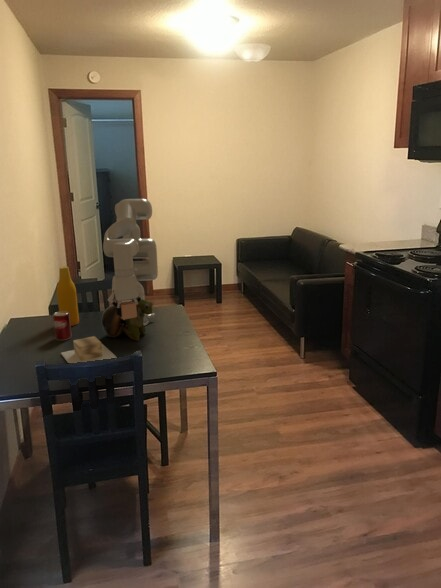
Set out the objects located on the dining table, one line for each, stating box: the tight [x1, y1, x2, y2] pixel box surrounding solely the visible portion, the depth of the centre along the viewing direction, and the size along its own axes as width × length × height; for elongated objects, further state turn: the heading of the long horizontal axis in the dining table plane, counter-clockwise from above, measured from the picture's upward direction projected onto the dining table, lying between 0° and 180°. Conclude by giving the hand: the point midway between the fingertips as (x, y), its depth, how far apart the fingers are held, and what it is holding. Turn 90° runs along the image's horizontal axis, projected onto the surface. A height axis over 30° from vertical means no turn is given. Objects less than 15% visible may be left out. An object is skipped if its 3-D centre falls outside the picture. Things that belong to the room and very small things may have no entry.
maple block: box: [72, 335, 102, 361], centre depth 198 cm, size 9×9×6 cm
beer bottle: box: [56, 266, 80, 327], centre depth 236 cm, size 9×9×29 cm
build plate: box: [60, 343, 118, 364], centre depth 199 cm, size 18×18×1 cm
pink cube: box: [120, 300, 137, 320], centre depth 197 cm, size 6×6×6 cm
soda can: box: [52, 311, 73, 342], centre depth 219 cm, size 7×7×12 cm
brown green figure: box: [101, 299, 154, 342], centre depth 219 cm, size 19×16×25 cm
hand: (127, 314), depth 198 cm, fingers closed on pink cube, 6 cm apart
